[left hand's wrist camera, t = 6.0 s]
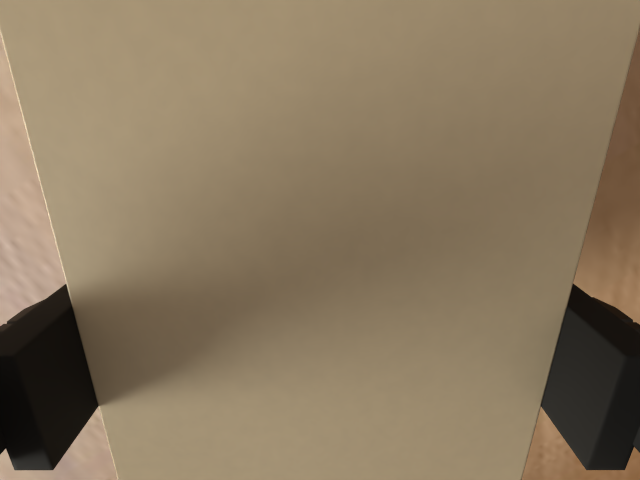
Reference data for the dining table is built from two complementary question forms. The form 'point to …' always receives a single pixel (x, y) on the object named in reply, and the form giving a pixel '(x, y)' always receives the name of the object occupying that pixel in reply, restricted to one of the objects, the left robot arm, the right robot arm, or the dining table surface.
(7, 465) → the dining table surface
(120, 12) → the cabinet
